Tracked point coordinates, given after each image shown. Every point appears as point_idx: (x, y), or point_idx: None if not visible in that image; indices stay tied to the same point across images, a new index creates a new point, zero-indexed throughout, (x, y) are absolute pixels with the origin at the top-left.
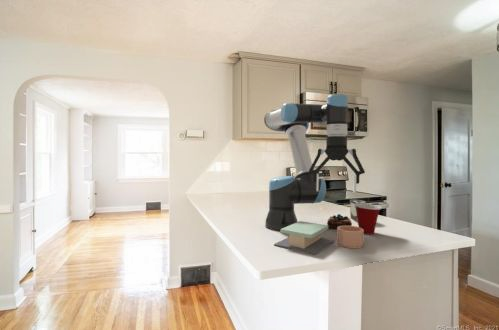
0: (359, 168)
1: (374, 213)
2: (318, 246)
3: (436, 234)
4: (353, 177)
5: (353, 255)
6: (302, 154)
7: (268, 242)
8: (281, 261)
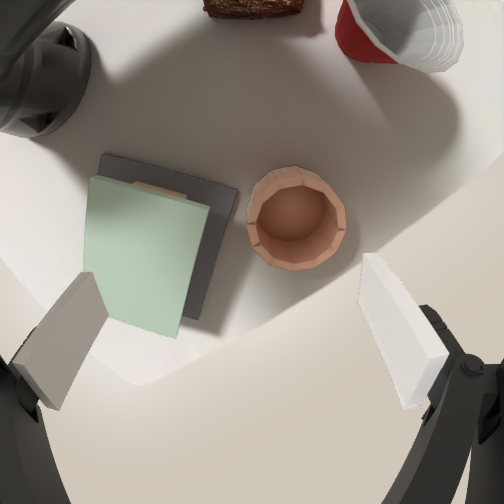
0: (471, 449)
1: (426, 62)
2: (195, 272)
3: None
4: (412, 348)
5: (291, 296)
6: None
7: (69, 262)
8: (147, 358)
